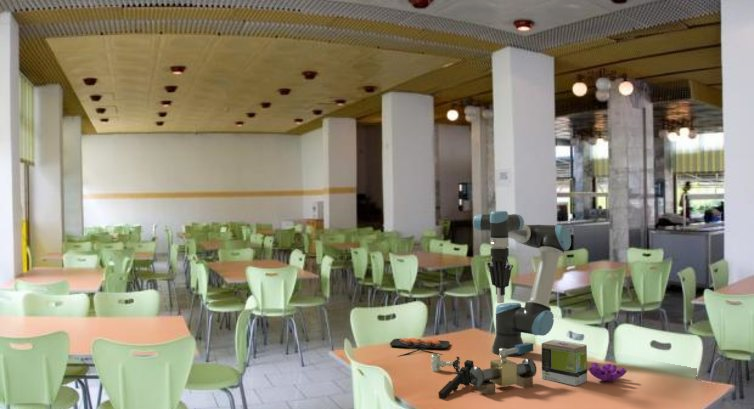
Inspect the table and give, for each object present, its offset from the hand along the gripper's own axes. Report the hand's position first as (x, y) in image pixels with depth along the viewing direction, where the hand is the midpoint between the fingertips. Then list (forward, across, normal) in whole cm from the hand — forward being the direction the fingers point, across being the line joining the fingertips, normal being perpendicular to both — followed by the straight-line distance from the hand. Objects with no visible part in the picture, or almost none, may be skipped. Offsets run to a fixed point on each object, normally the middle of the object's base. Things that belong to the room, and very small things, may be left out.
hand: (500, 302), depth 254 cm
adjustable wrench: (+28, +9, -34) cm, 45 cm away
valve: (+29, -12, -21) cm, 38 cm away
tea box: (+29, +25, +10) cm, 39 cm away
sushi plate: (+30, -48, -8) cm, 57 cm away
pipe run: (+28, +18, -18) cm, 38 cm away
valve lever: (+16, +17, -10) cm, 26 cm away
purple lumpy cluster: (+29, +35, +22) cm, 51 cm away
